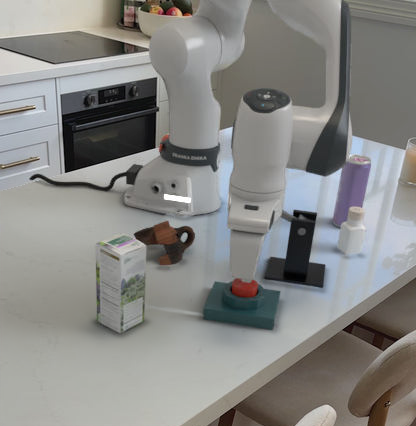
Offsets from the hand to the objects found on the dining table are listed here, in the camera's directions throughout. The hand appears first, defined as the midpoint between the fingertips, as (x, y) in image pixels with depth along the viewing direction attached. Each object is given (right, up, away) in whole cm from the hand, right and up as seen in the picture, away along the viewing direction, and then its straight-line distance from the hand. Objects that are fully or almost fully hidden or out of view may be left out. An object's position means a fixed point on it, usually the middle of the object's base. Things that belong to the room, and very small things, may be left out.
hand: (247, 278), depth 114 cm
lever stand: (+10, +3, +16) cm, 19 cm away
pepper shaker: (+23, +9, +26) cm, 35 cm away
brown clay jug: (-15, +7, +19) cm, 25 cm away
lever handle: (+6, +12, +10) cm, 17 cm away
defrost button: (0, -2, +2) cm, 3 cm away
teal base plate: (-1, -5, +4) cm, 6 cm away
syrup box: (-21, -8, -2) cm, 23 cm away
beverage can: (+24, +17, +38) cm, 48 cm away
